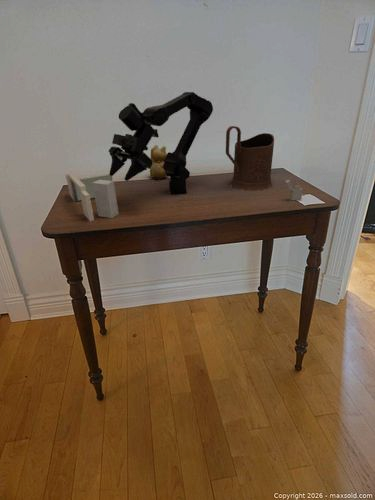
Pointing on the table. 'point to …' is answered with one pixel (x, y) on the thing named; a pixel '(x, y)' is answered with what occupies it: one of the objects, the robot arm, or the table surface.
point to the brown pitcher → (251, 161)
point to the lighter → (294, 191)
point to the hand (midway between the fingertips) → (117, 177)
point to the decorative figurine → (158, 162)
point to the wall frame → (84, 195)
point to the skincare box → (105, 198)
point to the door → (88, 185)
